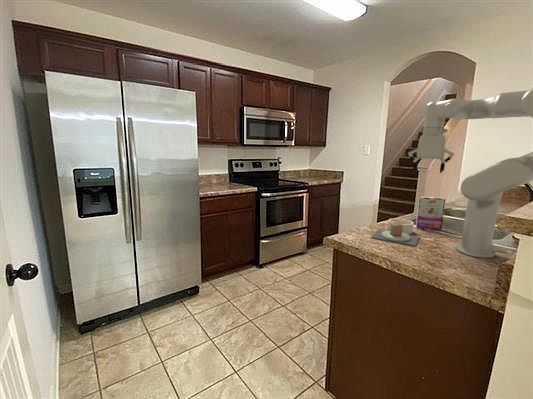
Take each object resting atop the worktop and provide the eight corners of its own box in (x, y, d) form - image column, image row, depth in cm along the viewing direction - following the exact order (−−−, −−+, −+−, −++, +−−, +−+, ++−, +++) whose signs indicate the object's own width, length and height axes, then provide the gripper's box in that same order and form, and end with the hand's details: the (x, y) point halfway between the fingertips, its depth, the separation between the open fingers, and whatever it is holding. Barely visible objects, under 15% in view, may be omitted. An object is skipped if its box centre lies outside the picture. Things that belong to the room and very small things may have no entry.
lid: (411, 236, 123) (413, 223, 122) (408, 243, 114) (409, 230, 113) (384, 231, 130) (385, 219, 129) (378, 238, 121) (379, 225, 119)
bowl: (413, 230, 133) (414, 220, 132) (410, 236, 125) (411, 226, 124) (390, 226, 140) (391, 217, 138) (385, 231, 131) (386, 222, 130)
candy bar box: (439, 228, 137) (443, 197, 134) (441, 231, 132) (446, 198, 129) (414, 225, 141) (418, 195, 138) (416, 228, 137) (420, 197, 133)
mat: (419, 238, 122) (419, 236, 122) (415, 246, 112) (415, 245, 112) (377, 230, 132) (377, 229, 132) (371, 238, 122) (371, 236, 122)
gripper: (457, 132, 113) (451, 172, 116) (411, 133, 123) (407, 170, 126) (457, 131, 107) (451, 173, 110) (409, 132, 117) (404, 171, 120)
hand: (427, 171), depth 118 cm, fingers open, 9 cm apart
